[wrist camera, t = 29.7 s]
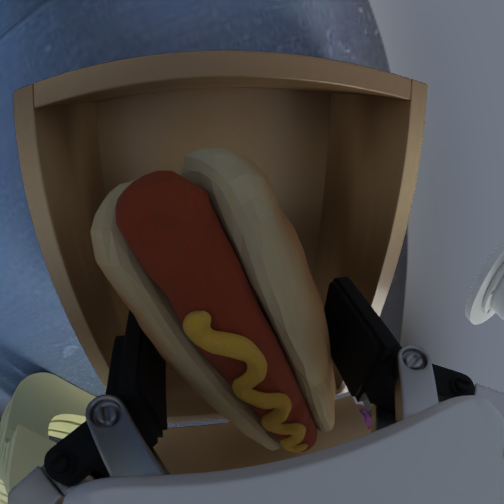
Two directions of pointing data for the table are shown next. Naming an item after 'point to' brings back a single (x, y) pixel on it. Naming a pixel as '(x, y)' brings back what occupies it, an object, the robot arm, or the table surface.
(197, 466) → the lid
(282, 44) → the table surface
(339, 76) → the box
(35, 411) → the slatted curved stool
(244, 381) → the food
